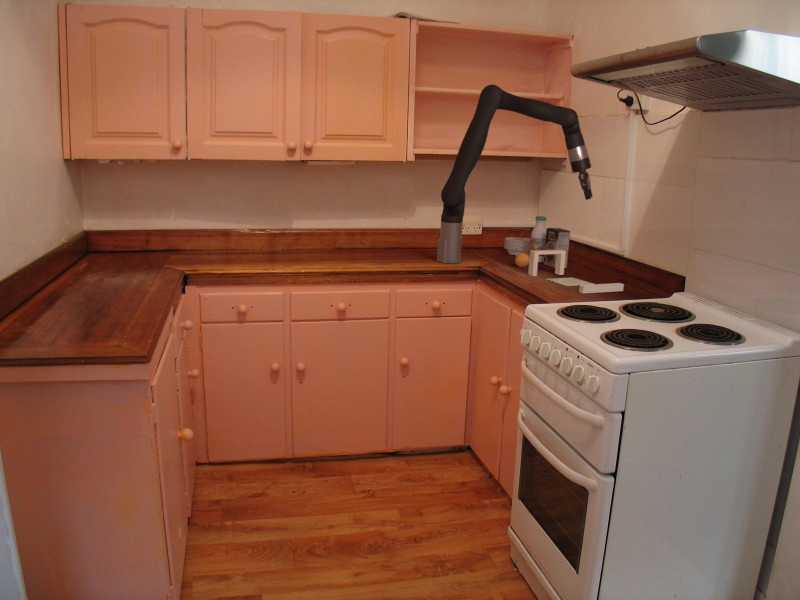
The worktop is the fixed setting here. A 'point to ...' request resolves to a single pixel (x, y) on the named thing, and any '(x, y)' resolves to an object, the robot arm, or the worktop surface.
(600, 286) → the stopper strip
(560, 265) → the bridge
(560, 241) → the coffee box
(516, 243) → the paper bowls
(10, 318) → the worktop surface
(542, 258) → the milk bottle
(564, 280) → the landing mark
